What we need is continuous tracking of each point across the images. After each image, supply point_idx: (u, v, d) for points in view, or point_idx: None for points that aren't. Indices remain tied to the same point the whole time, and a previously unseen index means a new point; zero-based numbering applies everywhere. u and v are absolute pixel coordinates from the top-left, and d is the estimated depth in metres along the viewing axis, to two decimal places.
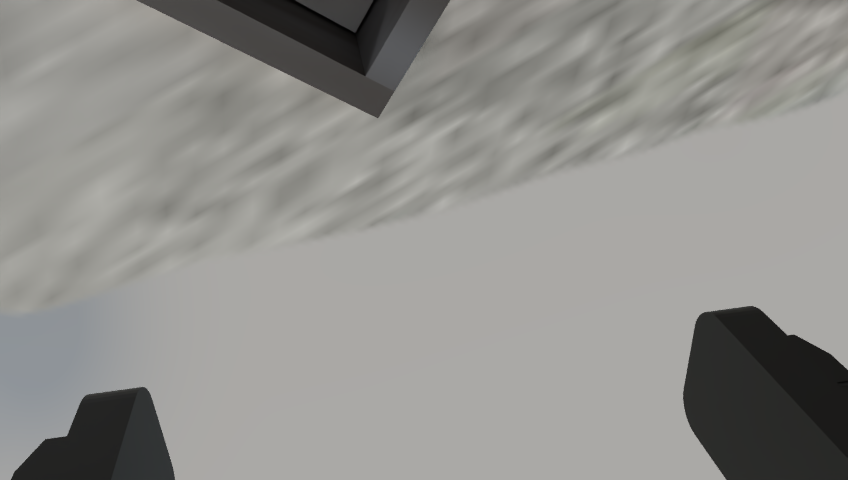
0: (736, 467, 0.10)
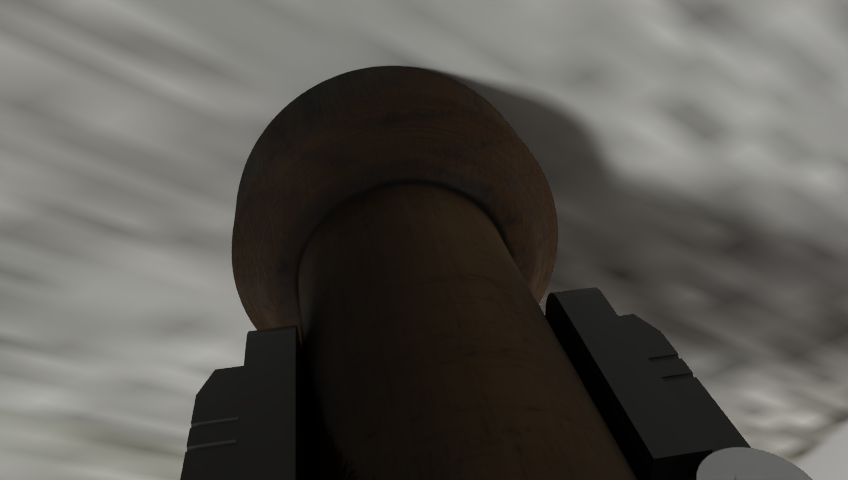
0: None
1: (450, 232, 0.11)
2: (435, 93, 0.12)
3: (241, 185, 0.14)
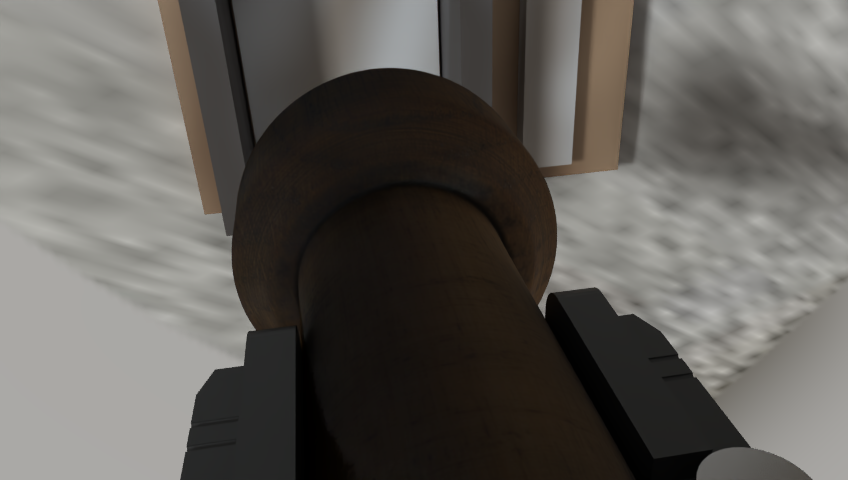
0: None
1: (449, 234, 0.11)
2: (435, 95, 0.12)
3: (241, 187, 0.14)
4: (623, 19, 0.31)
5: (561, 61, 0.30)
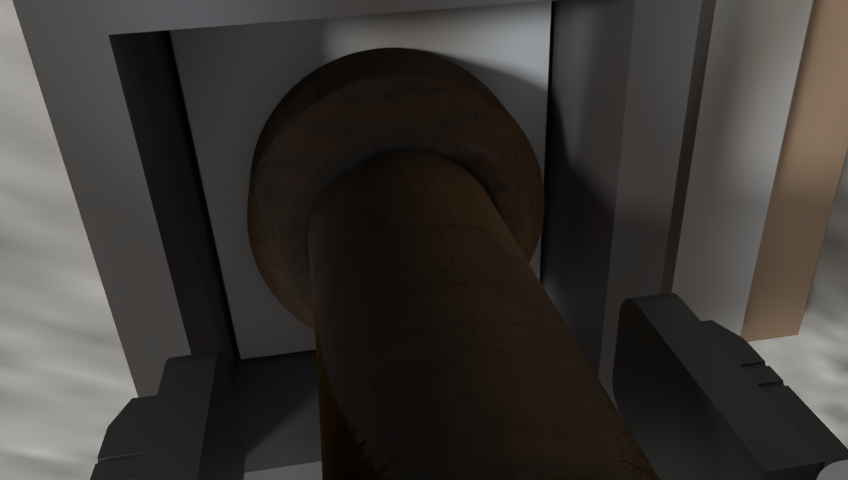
0: (654, 447, 0.10)
1: (444, 191, 0.12)
2: (432, 70, 0.14)
3: (255, 156, 0.15)
4: (842, 118, 0.19)
5: (745, 191, 0.18)
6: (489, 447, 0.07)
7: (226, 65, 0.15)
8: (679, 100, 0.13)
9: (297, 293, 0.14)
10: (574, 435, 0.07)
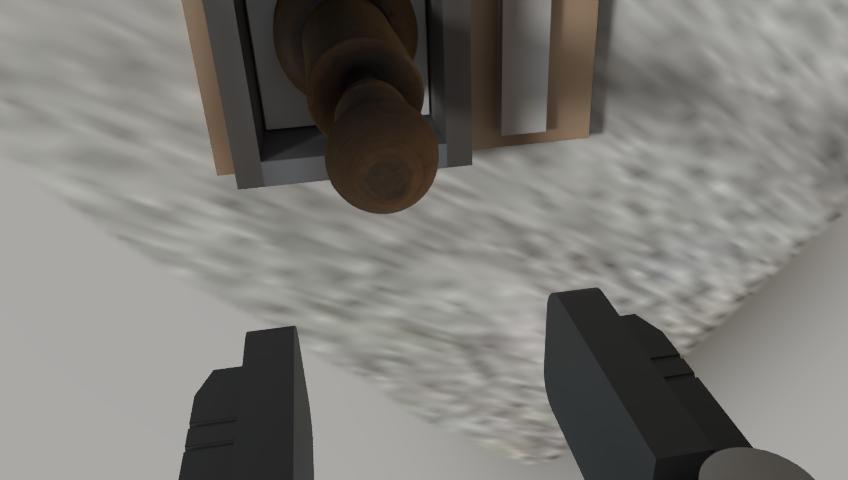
0: (575, 438, 0.10)
1: (360, 3, 0.28)
2: None
3: (276, 4, 0.31)
4: (590, 0, 0.35)
5: (535, 37, 0.34)
6: (353, 35, 0.23)
7: None
8: None
9: (297, 67, 0.30)
10: (380, 36, 0.23)
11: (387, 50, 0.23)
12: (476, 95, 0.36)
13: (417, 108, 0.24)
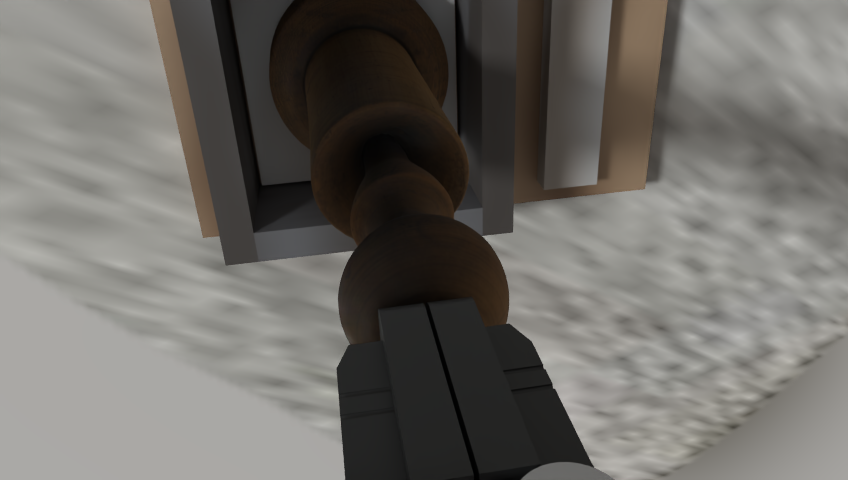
0: None
1: (379, 42, 0.22)
2: None
3: (273, 38, 0.25)
4: (654, 29, 0.29)
5: (588, 75, 0.28)
6: (375, 97, 0.17)
7: None
8: None
9: (299, 117, 0.24)
10: (411, 97, 0.17)
11: (420, 118, 0.17)
12: None
13: (459, 191, 0.18)
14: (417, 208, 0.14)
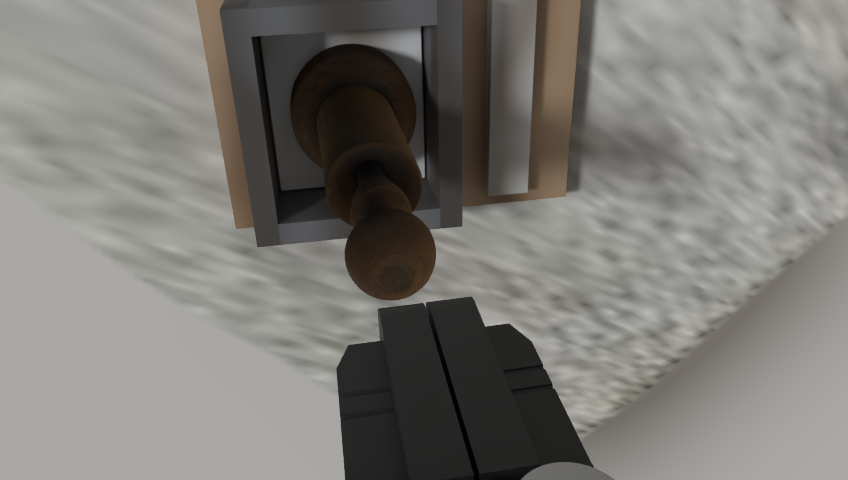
0: None
1: (368, 95, 0.33)
2: (367, 52, 0.34)
3: (294, 88, 0.35)
4: (567, 81, 0.40)
5: (518, 113, 0.39)
6: (365, 139, 0.27)
7: (282, 49, 0.35)
8: (458, 64, 0.33)
9: (311, 143, 0.35)
10: (387, 139, 0.28)
11: (392, 151, 0.27)
12: (466, 160, 0.41)
13: (417, 196, 0.28)
14: (388, 206, 0.25)
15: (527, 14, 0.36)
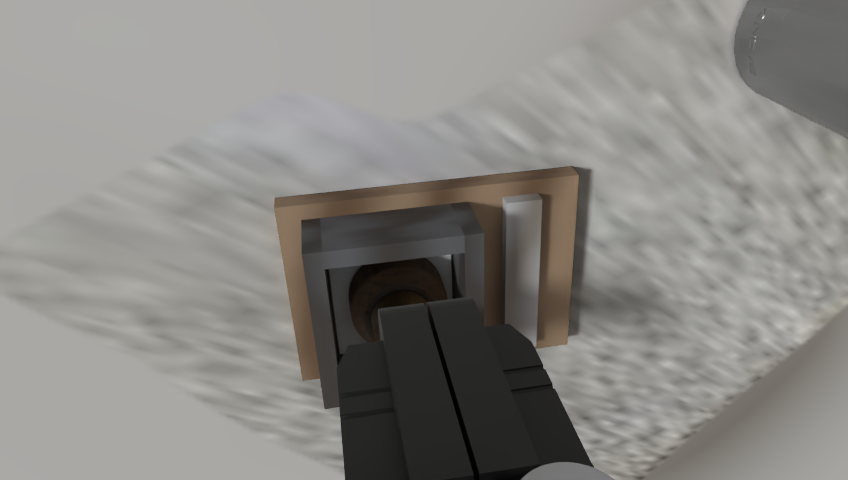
0: None
1: None
2: (409, 264, 0.44)
3: (352, 287, 0.45)
4: (567, 262, 0.49)
5: (528, 291, 0.49)
6: None
7: None
8: (481, 277, 0.43)
9: (367, 332, 0.45)
10: None
11: None
12: (486, 322, 0.51)
13: None
14: None
15: (534, 223, 0.46)
